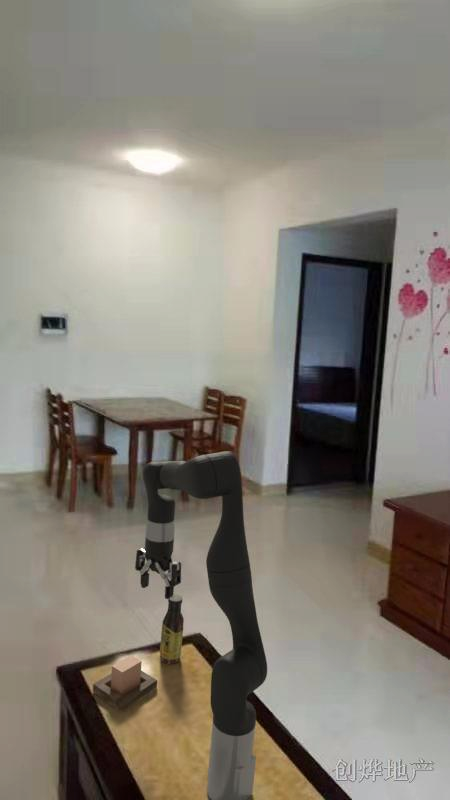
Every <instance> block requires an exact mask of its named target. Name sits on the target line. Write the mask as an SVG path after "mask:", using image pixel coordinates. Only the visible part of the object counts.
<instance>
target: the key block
mask: <svg viewBox="0 0 450 800" xmlns="http://www.w3.org/2000/svg"><path fill="white" fill-rule="evenodd" d="M142 663H143V662H142V660H140V659H139V658H137V657H135V656H134V655H132V654H130V655H129V656H127V657H125V658H123V659H121V660H120V661H118V662H117V663H114V664H113V665H111V673H110V674H111V689H113V690H114V691H116V692H117V693H119V694H120V695H124V694H126V693H127V692H129V691H131V690H132V689H134V688H135V687H137V686H138V685H140V679H141V671H142Z"/></svg>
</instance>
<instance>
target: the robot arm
mask: <svg viewBox="0 0 450 800" xmlns="http://www.w3.org/2000/svg"><path fill="white" fill-rule="evenodd" d="M143 468H144V469H143V470H142V479H143V484H144V486H145V491H146V495H147V519H146V520H147V521H146V525H145V537H144V541H145V542H144V547H141V548H139V549H137V550H136V555H135V563H134V564H135V567H134V569H135V570H136V571H138V572H139V574H140V588H141V589H142V588H143V589H146V588H147V587H149V584H150V573H149V572H150V571H151V572H155V573H157V574H158V575H160V577H161V579H162V580H163V581H164V583H165V588H164V589H165V590H164V599H166V600H168V599H169V598H171V597H172V596H173V595H174V592H175V586H178V585H180V584H181V583H182V563H181V562H180V561H177V562H176V561H173V559H172V555H173V553H174V544H175V543H174V542H175V529H176V527H175V514H176V512H175V511H176V501H175V499H174V498H173V496H170V495H167V494H162V493H159V490H164V489H167V490H168V489H169V490H173V491H174V490H175V491H183V492H184V493H186V494H188V495H190V496H191V497H194V498H196V499H198V500H207V499H214V498H218V497H221V499H222V501H221V502H222V503H221V505H222V507H221V516H220V521H219V523H218V527H217V530H216V532H215V533H214V536H213V538H212V540H211V543H210V546H209V548H208V551H207V554H206V555H207V556H206V562H205V564H206V565H205V566H206V572H207V580H208V586H209V591H210V594H211V596H212V598H213V600H214V601H215V603H216V604H217V606H218V607H219V608H220V610H221V611H222V613H224V614H225V616H226V618H227V620H228V623H229V625H230V630H231V634H232V635H231V636H232V649H231V650H229V651H228V652H227V653H225V654H222V656H220V657H219V658H217V660H215V662H214V664H213V666H212V669H211V675H210V677H211V678H210V709H211V713H212V724H211V726H212V727H211V737H210V748H209V749H210V750H209V759H208V760H209V761H208V772H207V781H206V782H207V784H206V792H207V796H208V797H209V799H210V800H248V799H249V798H250V797H251V796H252V795H253V792H254V791H253V790H254V781H255V772H256V771H255V769H256V762H257V756H256V755H255V754H254V743H255V733H256V732H255V731H256V724H257V723H256V721H257V711H256V709H255V706H254V705H253V704H252V703H251V702H250V701H248V700H247V699H248V696H249V695H251V694H252V693H253V692H254V691H256V690H257V689H258V688H260V686H262V685H263V684H264V683H265V681H266V680H267V679H266V678H267V676H268V663H267V657H266V652H265V647H264V644H263V639H262V636H261V635H262V634H261V632H260V627H259V622H258V616H257V608H256V602H255V597H254V588H253V579H252V570H251V563H250V557H249V551H248V545H247V536H246V527H245V520H244V519H245V518H244V502H243V501H244V499H243V496H244V495H243V481H242V480H243V479H242V472H241V466H240V463H239V460H238V457H236V455H235V454H234V452H232V451H228V450H227V451H226V450H225V451H220V452H214V453H207V454H201V455H198V456H194V457H193V458H191V459H188V460H186V461H185V460H171V461H151V462H148V463H146V464H145V466H144V467H143ZM165 572H167V573H165Z"/></svg>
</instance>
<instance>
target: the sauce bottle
mask: <svg viewBox="0 0 450 800" xmlns="http://www.w3.org/2000/svg"><path fill="white" fill-rule="evenodd" d="M167 603H168V606H167V611H166V614H165V616H164V617H163V620H162V623H161V625H162V626H161V633H160V634H161V636H160V649H159V658H160V660H161V661H162V663H165V664H170V665H171V664H176V663H178V662H179V661H180V660H181V655H182V648H183V647H182V646H183V645H182V643H183V633H184V622H185V621H184V615H183V613H182V603H183V597H182V596H181V595H179V594H174V593H173V596H172V597H171V598H169V599H167Z"/></svg>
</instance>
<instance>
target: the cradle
mask: <svg viewBox="0 0 450 800" xmlns="http://www.w3.org/2000/svg"><path fill="white" fill-rule="evenodd" d="M157 688H158V679H156V678H155V677H153V676H151V675H149V674H147V673H146V672H145V671H143V670H141V679H140V685H138V686H137V687H135V688H134V689H132V690H131V691H129V692H127V693H126V694H124V695H120V694H119V693H117V692H116V691H114V690H113V689H111V673H110V674H108V675H105V676H104V677H103V678H101V679H99V680H97V681H96V682H94V683H92V693H93V692H94V693H95V694H94V693H93V694H94V695H96V694H97V695H98V696H97V695H96V696H97V697H99V696H100V697H101V698H100V697H99V698H100V699H101V700H103V699H104V700H103V701H104V702H106V703H108V704H109V703H110V704H109V705H111V706H112V707H113V706H114V707H113V708H114V709H116V708H117V710H118V711H119V712H121V713H122V712H123V711H125V710H126V709H128V708H129V707H131V706H133V705H134V704H135V703H137V702H138V701H141V699H143V698H144V697H146V696H147V695H149V694H151V693H152V692H154V691H155V690H157Z"/></svg>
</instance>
